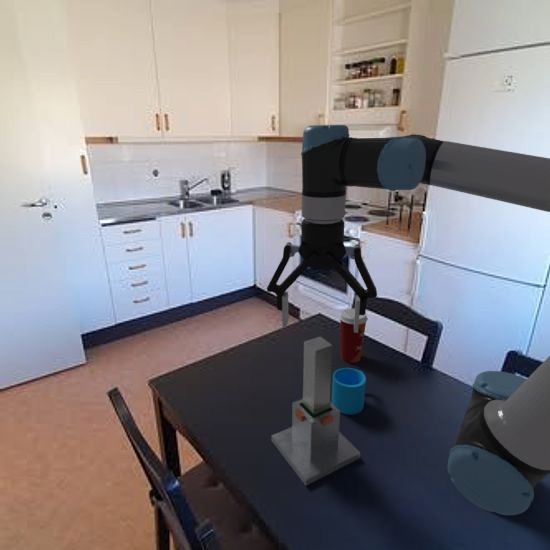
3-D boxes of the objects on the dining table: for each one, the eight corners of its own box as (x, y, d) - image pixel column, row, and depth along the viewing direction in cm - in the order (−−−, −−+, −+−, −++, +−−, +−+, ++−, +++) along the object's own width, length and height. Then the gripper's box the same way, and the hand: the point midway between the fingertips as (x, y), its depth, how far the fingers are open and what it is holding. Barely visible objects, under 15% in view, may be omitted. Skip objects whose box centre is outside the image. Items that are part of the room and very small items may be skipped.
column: (329, 423, 85) (333, 345, 78) (312, 430, 83) (315, 351, 76) (317, 411, 88) (320, 336, 82) (301, 418, 86) (302, 341, 80)
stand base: (360, 458, 86) (363, 414, 82) (305, 485, 80) (306, 439, 75) (321, 419, 97) (323, 378, 93) (271, 440, 91) (270, 398, 87)
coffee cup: (366, 364, 119) (370, 319, 114) (339, 364, 119) (341, 319, 114) (361, 350, 127) (364, 307, 122) (335, 350, 127) (337, 307, 122)
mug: (353, 419, 97) (355, 391, 94) (325, 405, 102) (326, 378, 100) (376, 395, 106) (379, 369, 103) (350, 383, 111) (351, 358, 108)
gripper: (394, 215, 71) (385, 322, 79) (258, 212, 76) (261, 314, 83) (399, 225, 64) (388, 341, 72) (248, 221, 69) (253, 331, 76)
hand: (320, 327), depth 77 cm, fingers open, 13 cm apart
